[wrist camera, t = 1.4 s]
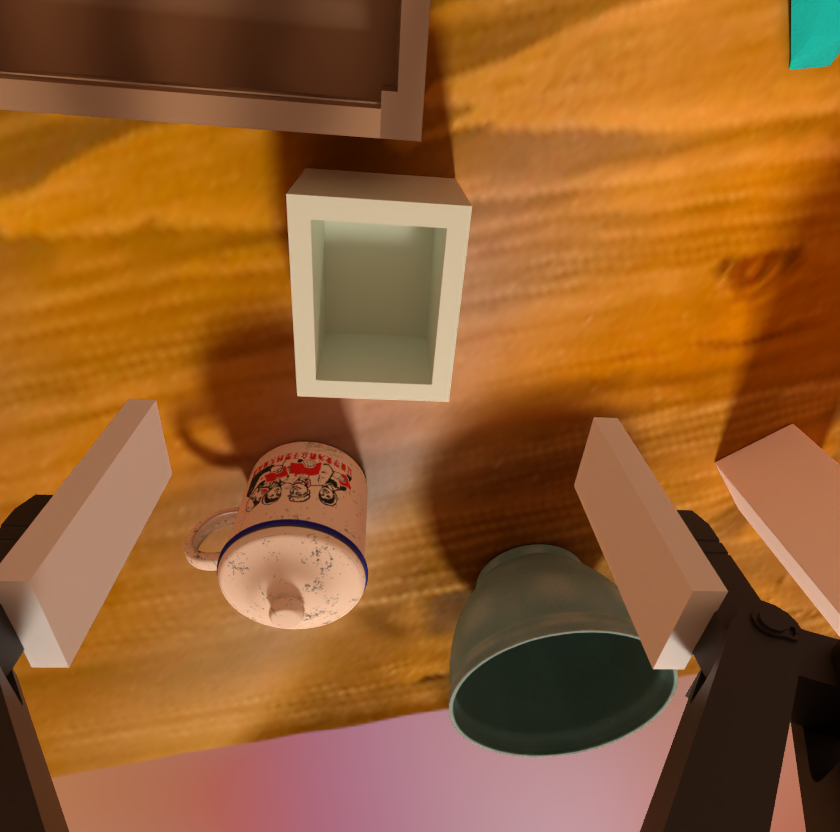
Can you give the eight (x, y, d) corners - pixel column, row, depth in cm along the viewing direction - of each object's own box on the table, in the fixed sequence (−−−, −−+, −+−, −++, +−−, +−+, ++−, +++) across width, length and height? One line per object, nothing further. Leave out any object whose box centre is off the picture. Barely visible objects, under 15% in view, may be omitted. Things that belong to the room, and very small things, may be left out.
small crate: (312, 339, 34) (297, 396, 29) (306, 167, 29) (285, 194, 23) (438, 345, 35) (448, 401, 29) (455, 178, 30) (472, 206, 24)
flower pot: (620, 622, 52) (670, 742, 42) (451, 649, 52) (465, 772, 43) (623, 495, 43) (688, 612, 34) (421, 530, 44) (430, 653, 35)
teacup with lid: (365, 432, 38) (359, 558, 29) (375, 527, 43) (372, 662, 33) (192, 441, 38) (125, 573, 28) (222, 536, 43) (173, 675, 33)
